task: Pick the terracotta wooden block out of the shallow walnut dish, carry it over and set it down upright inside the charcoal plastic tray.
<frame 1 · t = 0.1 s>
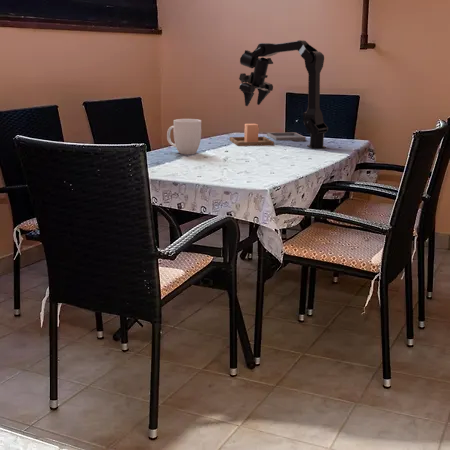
hand: (252, 105, 296), 15 cm above the table, tool pointing down, fingers open, 9 cm apart
block: (251, 142, 286), point 1 cm above the table, touching dish
tray: (285, 138, 303), on the table
dish: (251, 144, 286), on the table
mug: (185, 153, 261), on the table
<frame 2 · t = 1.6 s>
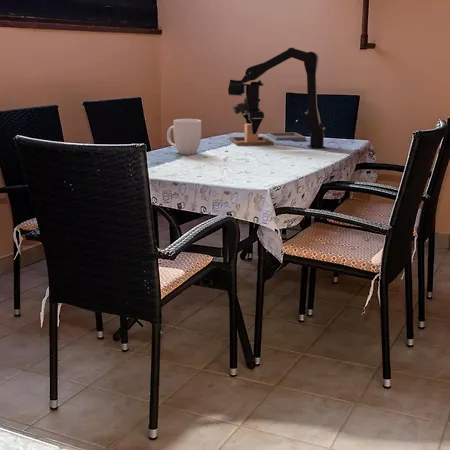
hand: (251, 132, 285), 5 cm above the table, tool pointing down, fingers open, 9 cm apart
nothing on the table moved.
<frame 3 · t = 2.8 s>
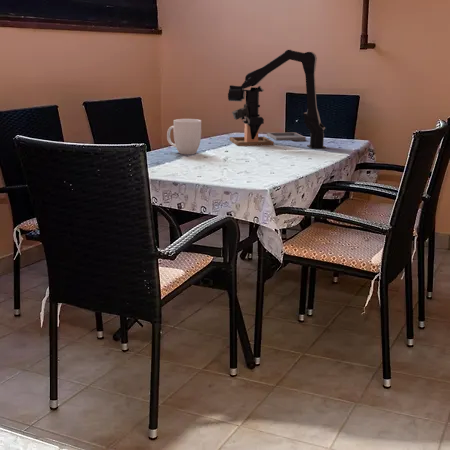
hand: (251, 138, 285), 3 cm above the table, tool pointing down, fingers closed on block, 5 cm apart
block: (251, 142, 286), point 1 cm above the table, touching dish, gripper
everything else where it was.
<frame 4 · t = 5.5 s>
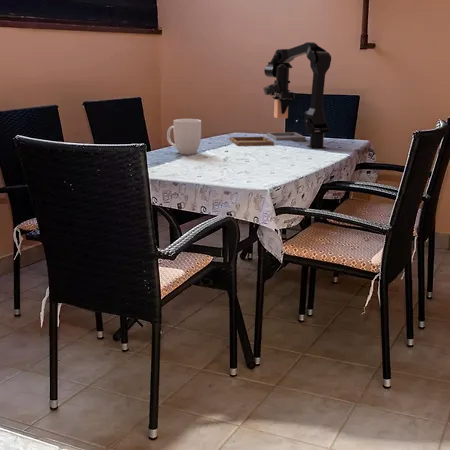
hand: (281, 113, 297), 12 cm above the table, tool pointing down, fingers closed on block, 5 cm apart
block: (280, 117, 298), point 10 cm above the table, touching gripper
everything else where it was.
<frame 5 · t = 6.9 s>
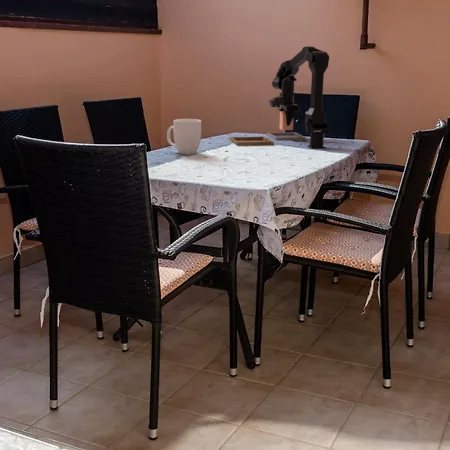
hand: (286, 125, 301), 6 cm above the table, tool pointing down, fingers closed on block, 5 cm apart
block: (286, 129, 302), point 4 cm above the table, touching gripper
everything else where it was.
when the fingers open (4 cm above the table, at t = 8.2 s): block drops 1 cm, resting on tray.
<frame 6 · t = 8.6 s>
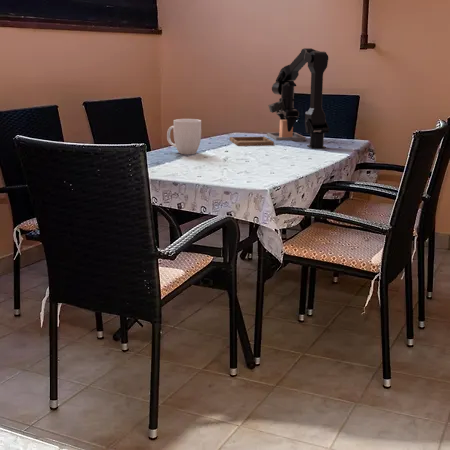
hand: (286, 130, 302), 4 cm above the table, tool pointing down, fingers open, 9 cm apart
block: (285, 137, 303), point 1 cm above the table, touching tray
everything else where it was.
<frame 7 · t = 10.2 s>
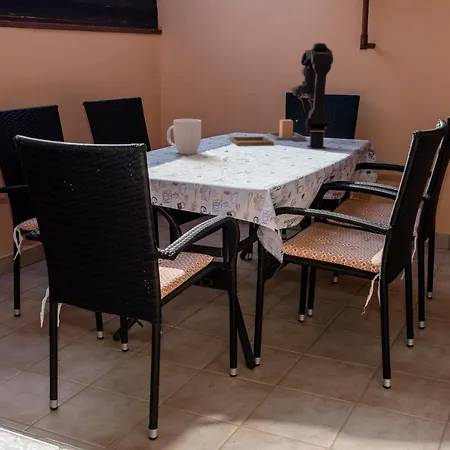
hand: (309, 113, 298), 12 cm above the table, tool pointing down, fingers open, 9 cm apart
nothing on the table moved.
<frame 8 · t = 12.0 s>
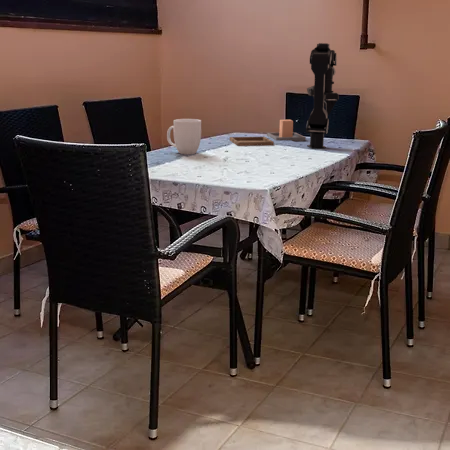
hand: (324, 114, 297), 12 cm above the table, tool pointing down, fingers open, 9 cm apart
nothing on the table moved.
at the end: block inside the target area on the tray (0.1 cm from its centre), point 0.6 cm above the tray's base; block tilted 0°; the gripper is holding nothing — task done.
